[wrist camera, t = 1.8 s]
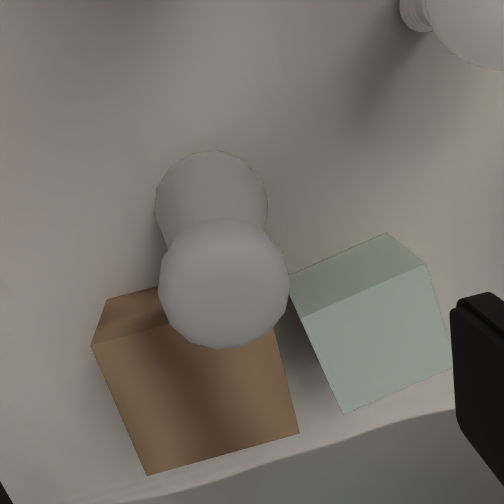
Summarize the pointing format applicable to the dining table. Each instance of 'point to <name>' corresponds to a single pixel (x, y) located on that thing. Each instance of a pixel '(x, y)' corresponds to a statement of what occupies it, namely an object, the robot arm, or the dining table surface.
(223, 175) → the salt shaker
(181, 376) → the walnut block
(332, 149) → the dining table surface
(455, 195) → the dining table surface
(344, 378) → the sage block
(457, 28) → the lightbulb
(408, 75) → the dining table surface
